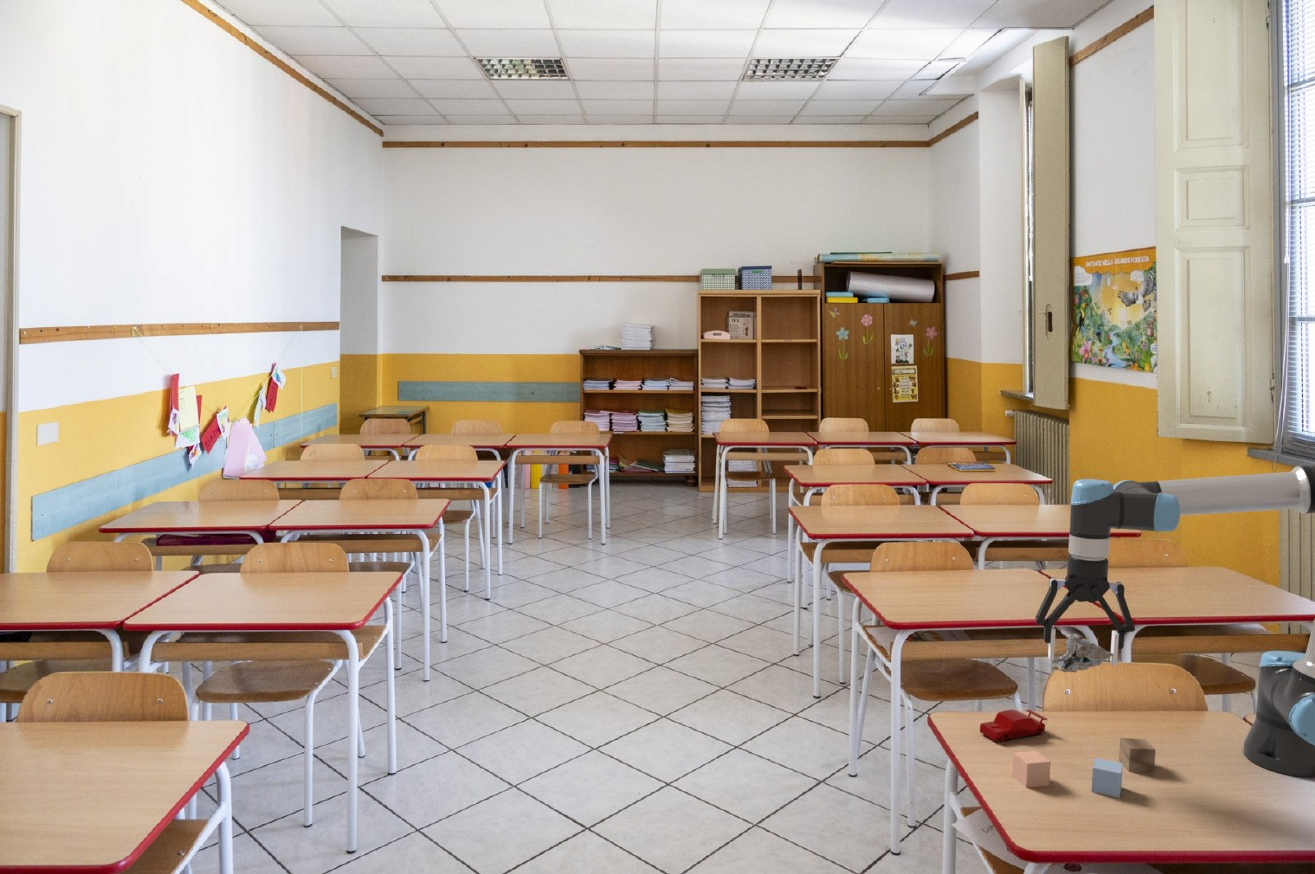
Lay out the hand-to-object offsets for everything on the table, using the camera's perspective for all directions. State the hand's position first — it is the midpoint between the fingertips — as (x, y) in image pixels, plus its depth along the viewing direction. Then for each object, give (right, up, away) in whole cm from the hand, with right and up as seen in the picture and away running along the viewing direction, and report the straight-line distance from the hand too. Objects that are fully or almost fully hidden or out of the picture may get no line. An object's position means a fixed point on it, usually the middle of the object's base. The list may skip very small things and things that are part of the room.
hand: (1082, 660), depth 198 cm
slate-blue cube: (+1, -23, -9) cm, 25 cm away
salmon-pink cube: (-13, -23, -5) cm, 26 cm away
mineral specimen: (0, -2, -1) cm, 2 cm away
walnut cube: (+12, -22, +2) cm, 25 cm away
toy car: (-8, -21, +17) cm, 28 cm away
